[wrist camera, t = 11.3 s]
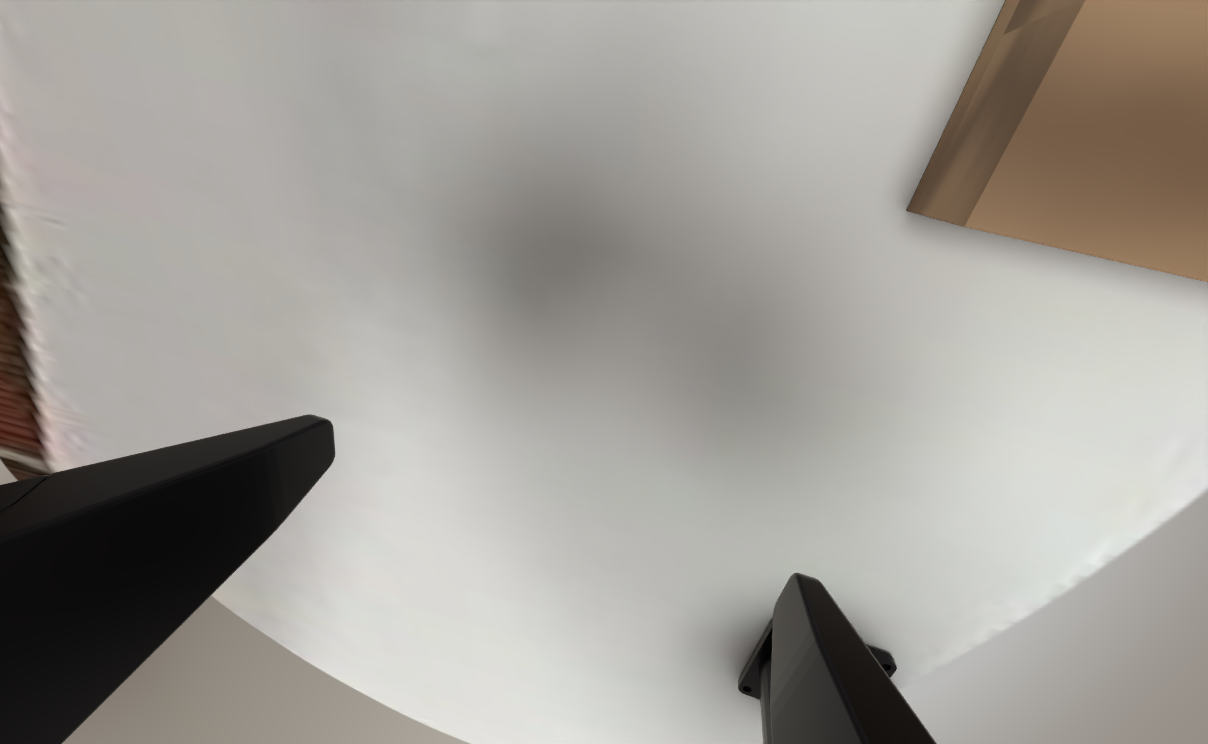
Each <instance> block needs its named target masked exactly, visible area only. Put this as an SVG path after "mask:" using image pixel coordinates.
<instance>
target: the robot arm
mask: <svg viewBox="0 0 1208 744" xmlns="http://www.w3.org/2000/svg"><path fill="white" fill-rule="evenodd" d="M334 458H335V443H334V431H333V425H332V423H331V421H329V420H328V419H325V418H322V417H319V416H315V415H304V416H300V417H295V418H291V419H287V420H282V421H278V422H274V423H269V424H265V425H261V426H256V427H252V428H248V429H243V430H239V431H234V432H230V433H226V434H221V435H217V436H213V437H208V438H204V439H200V440H195V441H191V442H187V443H182V444H178V445H174V446H169V447H165V448H160V449H156V450H152V451H147V452H143V453H139V454H134V455H130V456H126V457H121V458H117V459H113V460H108V461H104V462H100V463H95V464H91V465H87V466H82V467H78V468H73V469H69V470H65V471H60V472H56V473H53V474H51V475H50V476H48V475H42V476H38V477H34V478H29V479H25V480H21V481H17V482H12V483H8V484H3V485H0V744H62V743H63V742H64V741H65V740H66V739H67V738H68V737H69V736H70V735H71V734H72V733H73V732H74V731H75V730H76V729H77V728H78V727H79V726H80V725H81V724H82V723H83V722H84V721H85V720H86V719H87V718H88V717H89V716H90V715H91V714H92V713H93V712H94V711H95V710H96V709H97V708H98V707H99V706H100V705H101V704H102V703H103V702H104V701H105V700H106V699H107V698H108V697H109V696H110V695H111V694H112V693H113V692H114V691H115V690H116V689H117V688H118V687H119V686H120V685H121V684H122V683H123V682H124V681H125V680H126V679H127V678H128V677H129V676H130V675H131V674H132V673H133V672H134V671H135V670H136V669H137V668H138V667H139V666H140V665H141V664H142V663H143V662H144V661H145V660H146V659H147V658H148V657H149V656H150V655H151V654H152V653H153V652H154V651H155V650H156V649H157V648H158V647H159V646H160V645H162V644H163V642H165V641H166V639H168V638H169V637H170V635H172V634H173V633H174V632H175V630H177V628H179V627H180V626H181V625H182V624H183V623H184V622H185V620H187V619H188V618H189V617H190V616H191V614H193V612H195V611H196V610H197V609H198V608H199V607H200V606H201V605H202V604H203V603H204V602H205V601H206V600H207V599H208V598H209V597H210V596H211V595H212V594H213V593H214V592H215V591H216V590H217V589H218V588H219V587H220V586H221V585H222V584H223V583H224V582H225V581H226V580H227V579H228V578H229V577H230V576H231V575H232V574H233V573H234V572H235V571H236V570H237V569H238V568H239V567H240V566H241V565H242V564H243V563H244V562H245V561H246V560H247V559H248V558H249V557H250V556H251V555H252V554H253V553H254V552H255V551H256V550H257V549H258V548H259V547H260V546H261V545H262V544H263V543H264V542H265V541H266V540H267V539H268V538H269V537H270V536H271V535H272V534H273V533H274V532H275V531H276V530H277V529H278V527H279V526H280V525H281V524H282V523H283V522H284V521H285V520H286V518H287V517H288V516H289V515H290V514H291V512H292V511H293V510H294V509H295V508H296V507H297V505H298V504H299V503H300V502H301V501H302V499H303V498H304V497H305V496H306V495H307V493H308V492H309V491H310V490H311V489H312V487H313V486H314V485H315V484H316V483H317V481H318V480H319V479H320V478H321V477H322V475H323V474H324V473H325V472H326V471H327V469H328V468H329V467H330V466H331V464H332V462H333V460H334ZM896 669H897V667H896V664H895V661H894V658H893V657H892V656H890V655H888V654H885V653H882V652H879V651H876V650H874V649H871V648H868V647H867V646H866V644H865V643H864V642H863V640H862V639H861V637H860V636H859V635H858V633H857V632H856V630H855V629H854V628H853V626H852V625H851V623H850V622H849V621H848V619H847V618H846V616H845V615H844V614H843V612H842V611H841V609H840V608H839V607H838V605H837V604H836V602H835V601H834V600H833V598H832V597H831V595H830V594H829V593H828V591H827V590H826V588H825V587H824V586H823V584H822V583H821V582H820V581H819V580H817V579H815V578H812V577H809V576H806V575H803V574H800V573H794V574H793V575H792V576H791V577H790V578H789V580H788V582H787V584H786V586H785V587H784V589H783V591H782V593H781V595H780V596H779V598H778V600H777V602H776V604H775V608H774V613H773V620H772V621H771V623H770V624H769V626H768V628H767V630H766V632H765V633H764V635H763V637H762V639H761V640H760V642H759V644H758V646H757V648H756V649H755V651H754V653H753V655H752V656H751V658H750V660H749V662H748V664H747V665H746V667H745V669H744V671H743V672H742V674H741V676H740V678H739V680H738V689H739V691H740V692H742V693H743V694H746V695H749V696H751V697H754V698H757V699H760V701H761V716H762V732H763V744H936V742H935V741H934V739H933V738H932V737H931V735H930V734H929V732H928V731H927V729H926V728H925V727H924V725H923V724H922V723H921V721H920V720H919V718H918V717H917V716H916V714H915V713H914V711H913V710H912V709H911V707H910V706H909V704H908V703H907V702H906V700H905V699H904V697H903V696H902V695H901V693H900V692H899V690H898V689H897V688H896V686H895V685H894V683H893V682H892V681H891V679H890V677H891V676H892V675H893V674H894V672H895V671H896Z"/></svg>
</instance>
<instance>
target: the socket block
mask: <svg viewBox="0 0 1208 744" xmlns="http://www.w3.org/2000/svg"><path fill="white" fill-rule="evenodd" d="M907 211H909V212H913V213H916V214H920V215H924V216H927V217H931V218H934V219H938V220H942V221H945V222H949V223H952V224H956V225H959V226H963V227H967V228H972V229H976V230H980V231H985V232H989V233H994V234H998V235H1003V236H1007V237H1011V238H1016V239H1020V240H1025V241H1029V242H1033V243H1038V244H1042V245H1047V246H1051V247H1056V248H1060V249H1064V250H1069V251H1073V252H1078V253H1082V254H1086V255H1091V256H1095V257H1100V258H1104V259H1109V260H1113V261H1117V262H1122V263H1126V264H1131V265H1135V266H1139V267H1144V268H1148V269H1153V270H1157V271H1162V272H1166V273H1170V274H1175V275H1179V276H1184V277H1188V278H1192V279H1197V280H1201V281H1206V282H1208V0H1006V1H1005V3H1004V5H1003V7H1002V10H1001V12H1000V14H999V16H998V18H997V20H996V22H995V24H994V27H993V29H992V31H991V33H990V35H989V37H988V39H987V41H986V43H985V46H984V48H983V50H982V52H981V54H980V56H979V58H978V60H977V62H976V65H975V67H974V69H973V71H972V73H971V75H970V77H969V79H968V82H967V84H966V86H965V88H964V90H963V92H962V94H961V96H960V98H959V101H958V103H957V105H956V107H955V109H954V111H953V113H952V115H951V118H950V120H949V122H948V124H947V126H946V128H945V130H944V132H943V134H942V137H941V139H940V141H939V143H938V145H937V147H936V149H935V151H934V153H933V156H932V158H931V160H930V162H929V164H928V166H927V168H926V170H925V173H924V175H923V177H922V179H921V181H920V183H919V185H918V187H917V189H916V192H915V194H914V196H913V198H912V200H911V202H910V204H909V206H908V208H907Z"/></svg>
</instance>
